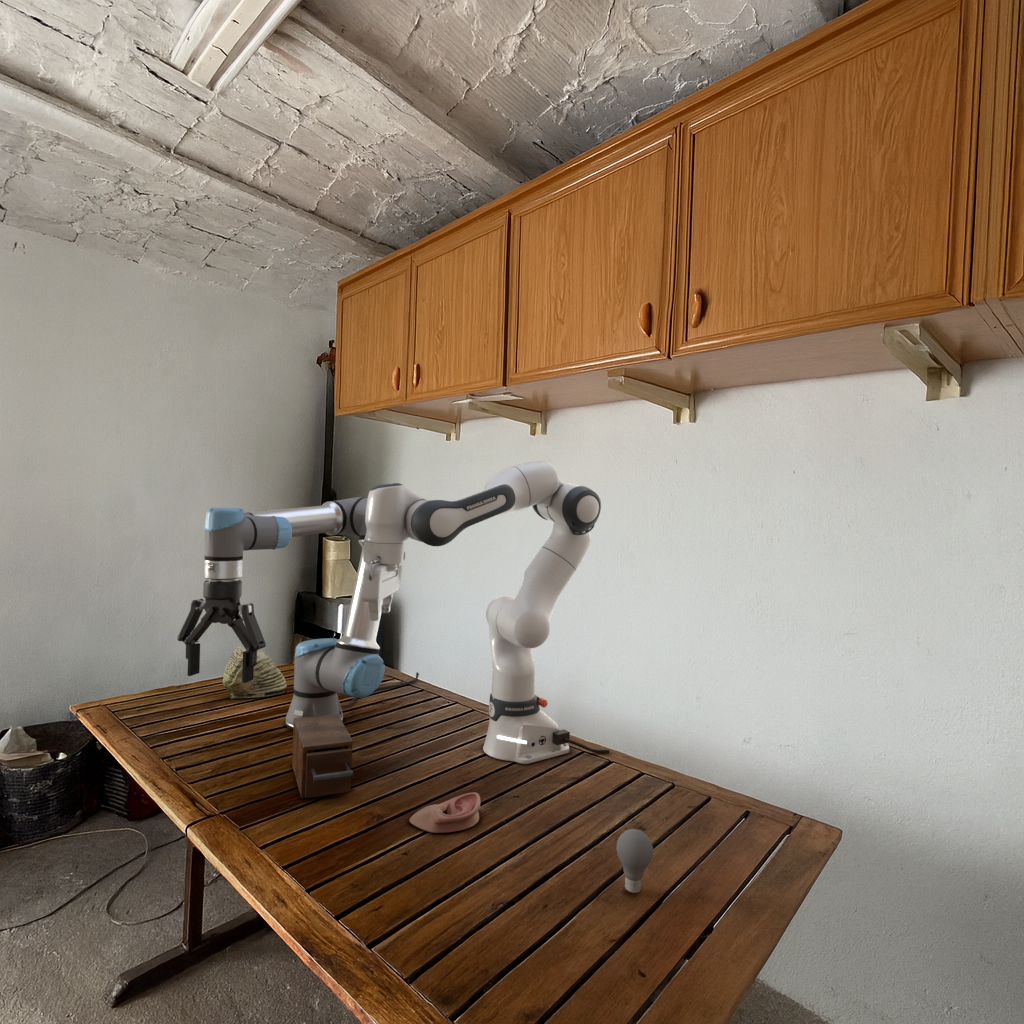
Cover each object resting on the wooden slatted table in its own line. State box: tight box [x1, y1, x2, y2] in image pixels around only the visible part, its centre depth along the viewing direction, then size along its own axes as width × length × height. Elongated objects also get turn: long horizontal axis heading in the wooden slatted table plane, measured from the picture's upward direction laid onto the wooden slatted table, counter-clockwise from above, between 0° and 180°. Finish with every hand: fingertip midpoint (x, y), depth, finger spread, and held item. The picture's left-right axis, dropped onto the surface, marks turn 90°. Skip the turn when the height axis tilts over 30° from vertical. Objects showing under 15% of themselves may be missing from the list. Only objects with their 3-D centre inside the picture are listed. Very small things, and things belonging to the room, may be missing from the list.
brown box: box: [291, 714, 353, 799], centre depth 143 cm, size 18×10×11 cm, turn 25°
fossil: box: [222, 646, 288, 699], centre depth 198 cm, size 9×18×15 cm, turn 132°
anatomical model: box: [409, 791, 481, 834], centre depth 126 cm, size 13×4×12 cm
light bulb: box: [615, 828, 654, 894], centre depth 106 cm, size 6×6×10 cm
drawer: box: [304, 746, 354, 799], centre depth 138 cm, size 22×9×9 cm, turn 25°
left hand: (220, 678), depth 136 cm, fingers open, 13 cm apart
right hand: (380, 616), depth 142 cm, fingers open, 8 cm apart
